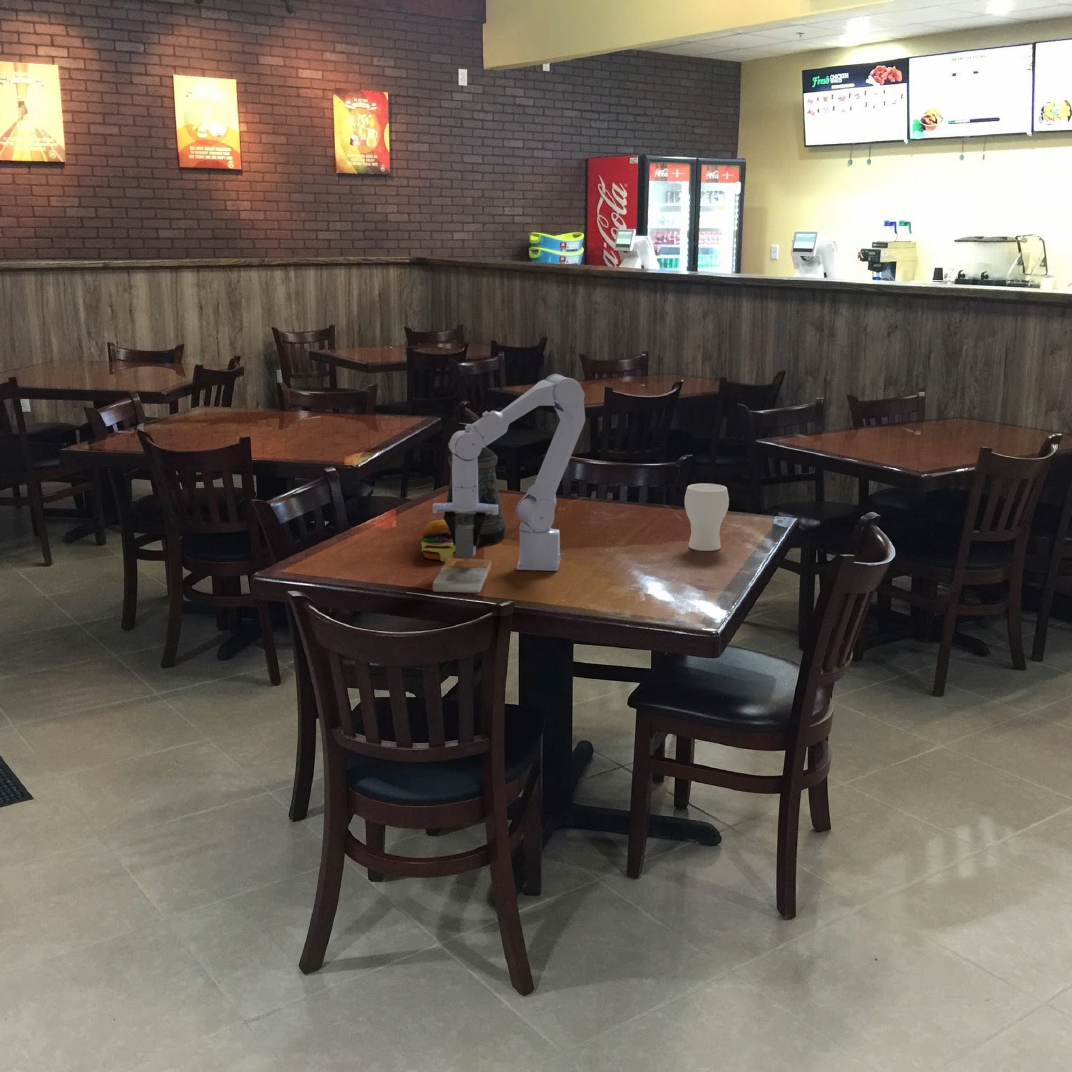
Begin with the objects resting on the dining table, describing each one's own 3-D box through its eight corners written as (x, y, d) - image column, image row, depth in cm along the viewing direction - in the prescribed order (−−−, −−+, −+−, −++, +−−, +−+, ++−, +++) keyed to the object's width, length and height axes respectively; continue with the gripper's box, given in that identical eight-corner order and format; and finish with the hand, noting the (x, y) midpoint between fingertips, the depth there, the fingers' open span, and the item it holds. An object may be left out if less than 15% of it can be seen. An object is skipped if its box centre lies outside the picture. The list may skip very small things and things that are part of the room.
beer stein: (477, 549, 275) (476, 447, 269) (418, 536, 286) (416, 439, 280) (519, 535, 288) (519, 438, 281) (461, 524, 299) (460, 430, 293)
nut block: (475, 553, 256) (475, 525, 254) (473, 557, 252) (473, 529, 250) (458, 552, 256) (457, 524, 254) (455, 557, 252) (455, 529, 251)
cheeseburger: (425, 564, 261) (422, 521, 261) (418, 563, 272) (414, 521, 271) (468, 560, 264) (464, 517, 264) (459, 559, 274) (456, 518, 274)
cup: (725, 554, 271) (728, 492, 267) (681, 551, 273) (683, 490, 269) (727, 543, 281) (730, 483, 278) (684, 540, 283) (686, 482, 280)
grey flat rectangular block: (491, 566, 260) (491, 559, 259) (479, 592, 240) (479, 584, 240) (448, 565, 260) (447, 558, 260) (432, 591, 241) (432, 583, 241)
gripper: (429, 488, 247) (430, 548, 250) (495, 490, 246) (495, 550, 249) (435, 482, 254) (436, 540, 257) (499, 483, 253) (499, 542, 256)
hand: (465, 544), depth 254 cm, fingers closed on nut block, 4 cm apart
